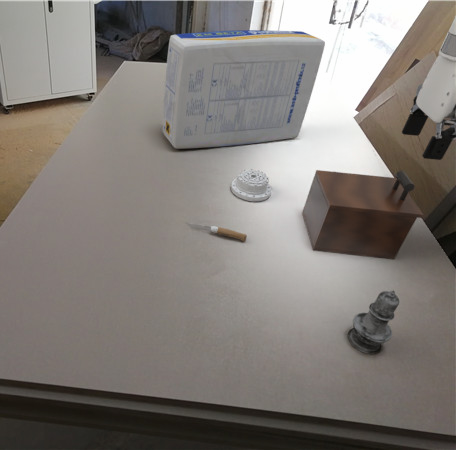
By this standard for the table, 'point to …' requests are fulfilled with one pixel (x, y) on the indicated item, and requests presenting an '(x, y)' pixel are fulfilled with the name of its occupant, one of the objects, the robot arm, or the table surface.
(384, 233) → the chest
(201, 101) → the construction material bag
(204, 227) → the folding knife
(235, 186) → the mechanical component
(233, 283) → the table surface
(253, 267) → the table surface
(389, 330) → the dark grey chess piece
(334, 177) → the lid
